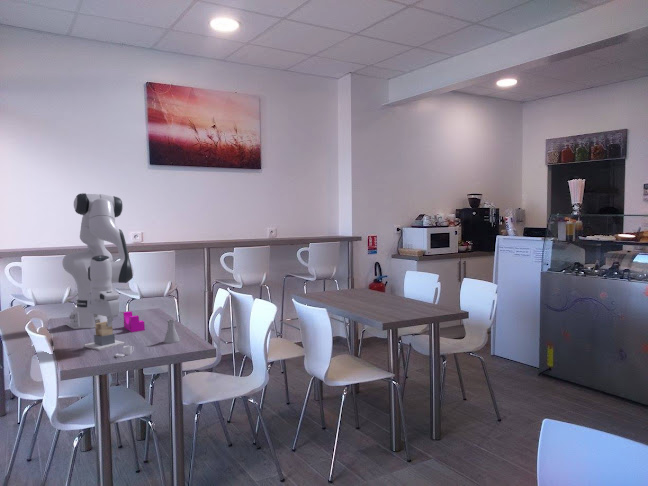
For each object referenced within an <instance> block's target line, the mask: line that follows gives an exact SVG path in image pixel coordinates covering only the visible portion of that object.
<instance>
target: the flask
mask: <svg viewBox="0 0 648 486" xmlns="http://www.w3.org/2000/svg"><path fill="white" fill-rule="evenodd" d="M166 321H167V329H166V333H165V337H164V340H163V343H164V344H175V343H179V342H180V340H181V339H180V338H179V335H178V332H177V330H176V328H175V321H176V320H175V319H167V320H166Z"/></svg>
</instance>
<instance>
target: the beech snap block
mask: <svg viewBox="0 0 648 486" xmlns="http://www.w3.org/2000/svg"><path fill="white" fill-rule="evenodd" d="M106 322H107V321H105V322H100V323H95V328H94V329H95V335H98V336H106V335H111V334H114V333H113V330H114V329H113V325H112V326H111V327H107V326H106Z"/></svg>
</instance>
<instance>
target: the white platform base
mask: <svg viewBox="0 0 648 486" xmlns="http://www.w3.org/2000/svg"><path fill="white" fill-rule="evenodd" d="M115 336H116V335H115V333H113V334H111V335H106V336H98V335H96V334H94V335H93V339H94V342H89V343H86V344H84V345H83V346H84V348H88V349H93V350H96V351H102V350H103V351H104V350H107V349H111V348H115V347H119V346H123V345H124V346H125V345H126V342H125V341H120V340H117V339H116V338H115Z"/></svg>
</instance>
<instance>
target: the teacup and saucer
mask: <svg viewBox="0 0 648 486" xmlns="http://www.w3.org/2000/svg"><path fill="white" fill-rule="evenodd" d="M122 347H123V353H115V355H114V356H115V358H122V357H125V356H130V355H132V354H133V353H134V351H135V346H132V345H124V346H122Z"/></svg>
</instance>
